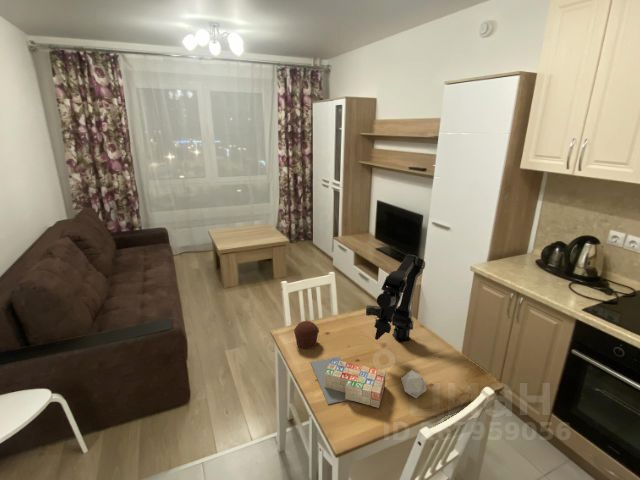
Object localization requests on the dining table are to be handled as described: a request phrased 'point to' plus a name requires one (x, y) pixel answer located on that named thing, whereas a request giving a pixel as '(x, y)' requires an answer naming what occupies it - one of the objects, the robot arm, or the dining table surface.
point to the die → (413, 384)
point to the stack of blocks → (356, 382)
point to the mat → (319, 371)
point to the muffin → (306, 334)
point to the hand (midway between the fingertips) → (376, 339)
